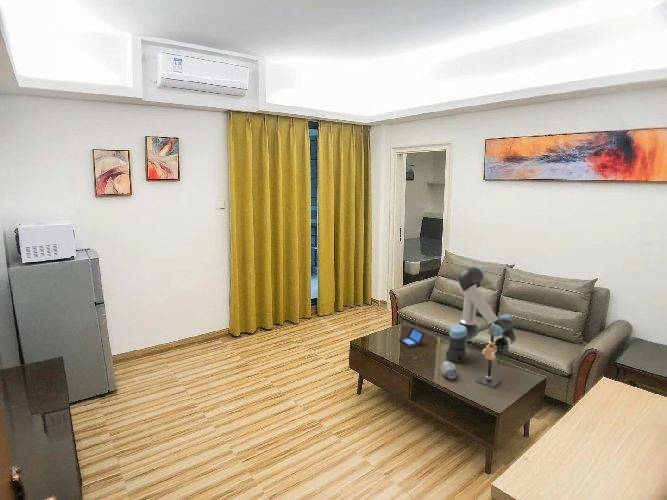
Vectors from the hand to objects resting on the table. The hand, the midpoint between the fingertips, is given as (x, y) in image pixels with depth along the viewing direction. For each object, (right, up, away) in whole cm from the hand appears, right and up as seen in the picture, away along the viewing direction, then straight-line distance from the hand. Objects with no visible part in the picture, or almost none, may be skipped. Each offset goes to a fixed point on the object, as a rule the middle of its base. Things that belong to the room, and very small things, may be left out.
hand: (487, 353), depth 253 cm
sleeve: (+4, -4, +4) cm, 7 cm away
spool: (-20, -18, +15) cm, 31 cm away
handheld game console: (-35, -8, +65) cm, 74 cm away
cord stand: (+3, -19, +8) cm, 21 cm away
